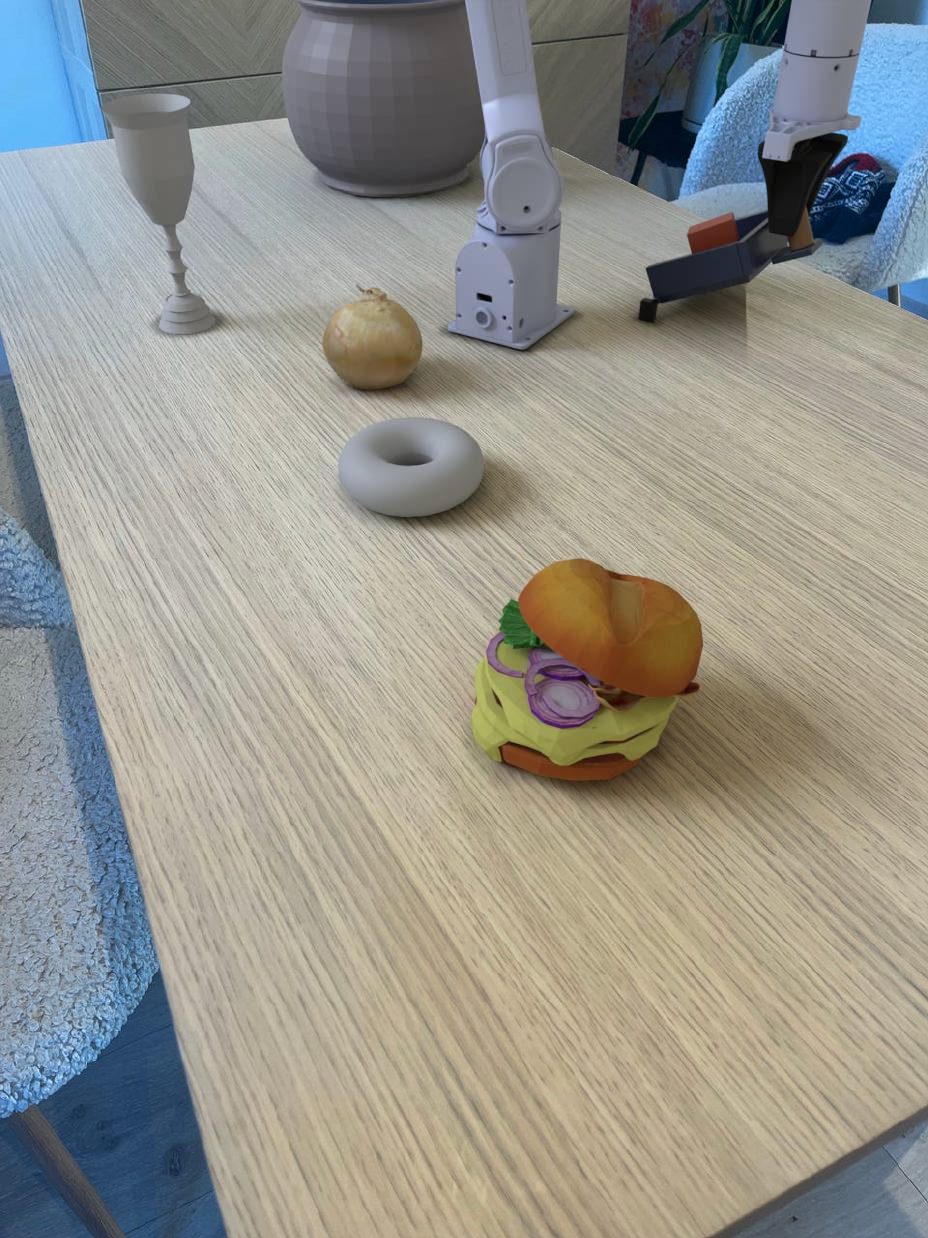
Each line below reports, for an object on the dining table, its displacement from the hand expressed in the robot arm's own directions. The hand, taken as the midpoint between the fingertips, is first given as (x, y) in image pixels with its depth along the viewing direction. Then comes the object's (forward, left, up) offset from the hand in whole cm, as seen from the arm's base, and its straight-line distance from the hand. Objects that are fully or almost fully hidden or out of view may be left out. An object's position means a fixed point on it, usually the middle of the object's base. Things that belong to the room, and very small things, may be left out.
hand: (786, 229), depth 87 cm
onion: (-29, +23, -8) cm, 38 cm away
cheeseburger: (-55, -9, -8) cm, 56 cm away
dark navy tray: (0, +3, -4) cm, 5 cm away
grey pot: (+17, +54, -8) cm, 57 cm away
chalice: (-29, +44, -8) cm, 53 cm away
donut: (-41, +11, -8) cm, 43 cm away
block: (0, +5, -4) cm, 7 cm away
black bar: (0, +9, -8) cm, 12 cm away
